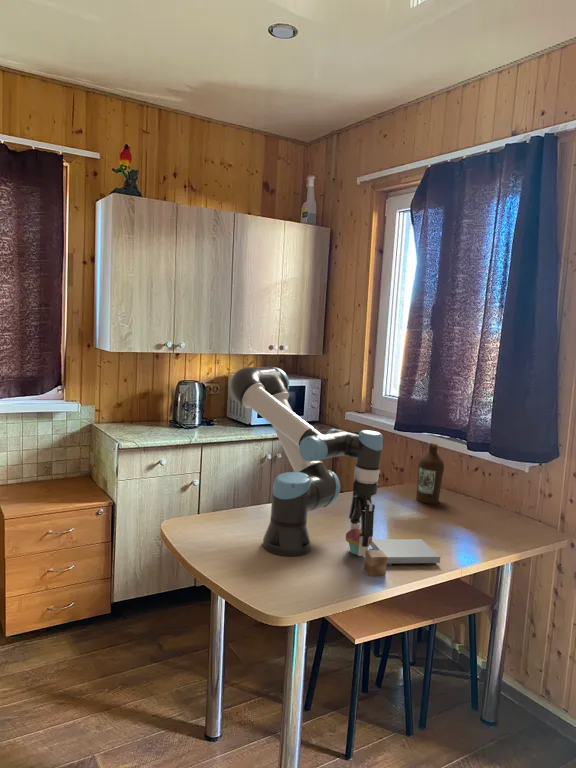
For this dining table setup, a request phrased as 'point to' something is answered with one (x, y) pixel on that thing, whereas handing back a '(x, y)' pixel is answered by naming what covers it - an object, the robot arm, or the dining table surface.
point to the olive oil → (430, 476)
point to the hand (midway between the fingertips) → (357, 548)
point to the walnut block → (375, 563)
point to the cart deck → (406, 551)
